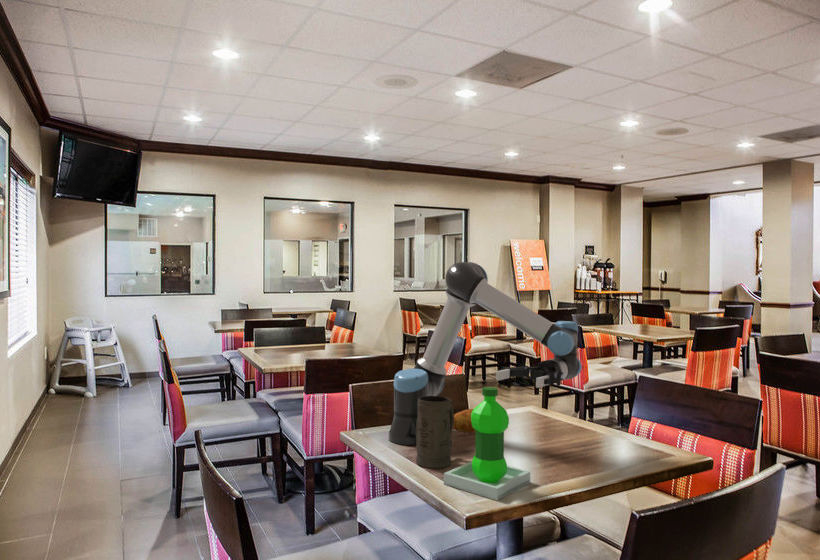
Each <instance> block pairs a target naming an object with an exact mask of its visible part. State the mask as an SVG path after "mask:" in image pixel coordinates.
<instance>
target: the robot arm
mask: <svg viewBox="0 0 820 560" xmlns="http://www.w3.org/2000/svg"><path fill="white" fill-rule="evenodd" d="M488 277H489V276H488V274H487V272H486V270H485V269H484V268H483V267H482V265H479V264H478V263H475V262H471V261H470V262H464V261H458V262H456V263H453V264H452V265H451V266H450V267H449V268H448V269H447V271H446V273H445V278H444V280H445V285H446V287H447V289H446V290H445V294H446V297H447V299H446V302H445V303H444V306H443V308H442V311H441V313H440V316H439V318H438V321H437V324H436V326H435V327H434V330H433V333H432V335H431V338H430V340H429V343H428V345H427V346H426V350H425V351H424V354H423V356H422V357H420V358H418V359H417V360H416V363H415V365H414V368H406V369H402V370H398V372H396V373H395V374H394V381H393V419H392V421H391V425H390V428H389V429H390V430H389V431H388V440H389V442H391V443H394V444H397V445H405V446H416V434H417V418H418V399H419V398H420V397H423V396H439V395H440V394H441V392H442V390H443V388H444V386H445V378H446V375H447V369H446V364H447V362H448V360H449V357H450V355H451V352H452V350H453V349H454V345H455V343H456V341H457V338H458V336H459V334H460V333H461V332H460V331H461V329H462V326H463V324H464V322H465V320H466V318H467V315H468V312H469V310H470V308H471V307H473V306H476V305H479V306H480V307H482V308H483V309H484V310H487V311H488V312H489V313H491V314H493V315H495V316H496V317H498V318H500V320H503V321H504V322H505V323H507V324H509V325H510V326H512V327H513V328H516V329H517V330H519V331H520V332H522V333H523V334H525V335H527V336H528V337H530V338H531V339H534V340H535V341H536V342H538V343H540V344H542V346H544V347H545V348H547V349H549V351H550V352H551V353H552V354H553V358H550V359H545V360H542V361H540V362H539V363H537V365H536V366H532V367H531V366H527V365H525V366H507V367H505V366H503V367H501V370H496V371H495V380H496V381H503V380H508V379H510V378H526V379H528V380H529V379H530V380H531V379H535V388H536V389H537V388H538V389H539V388H542V387H546V386H549V385H550V386H554V385H555V384H556V386H558V387H559V386H561V385H562V383H561V381H566V380H572V379H574V378H576V377H578V376H579V375H580V373H581V371H582V367H583V365H582V362H581V360H580V359H579V358H578V339H579V338H578V337H579V325H578V323H577V322H576V321H571V320H570V321H569V320H567V321H566V320H558V321H556V322H555V323H554V322H552V321H550V320H549V319H547V318H546V317H544V316H542V315H540V314H538V313H537V312H535V311H533V310H532V309H530V308H529V307H527V306H526V305H524V304H523V303H520V302H519V301H517V300H515V298H512V297H510V296H509V295H507V294H505V293H504V292H502V291H501V290H500V289H498V288H496V287H494V286H492V285H491V284H489V283H488V282H489V278H488Z"/></svg>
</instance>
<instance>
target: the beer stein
mask: <svg viewBox="0 0 820 560" xmlns="http://www.w3.org/2000/svg"><path fill="white" fill-rule="evenodd" d="M454 412H455V411H454V407H453V399H450V398H449V397H446V396H440V395H438V396H423V397H420V398H419V399H418V418H417V434H416V445H415V446H416V447H415V449H416V457H415V458H416V459H415V462H416V464H417V465H418V466H419V467H422V468H426V469H444V468H447V467H449V466H450V465H451V464H452V458H451V453H452V448H451V447H452V446H453V442H452V439H451V437H452V432H453V430H454V429H453V424H454V414H455V413H454Z"/></svg>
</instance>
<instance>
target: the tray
mask: <svg viewBox="0 0 820 560" xmlns="http://www.w3.org/2000/svg"><path fill="white" fill-rule="evenodd" d="M530 483H531V471H529V470H526V469H522V468H518V467H514V466H510V465H507V472H506V474H505V475H504V477H502V478H501V479H500V480H499V481H498V482H496V483H486V482H482V481H480V479H479V478H478V477H477V476H475V474H474V473H473V470H472V460H471V461H469V462H466V463H465V464H462V465H460V466H458V467H457V466H456V467H455V468H453V469H451V470H447V471H446V472H443V485H445V486H448V485H449V487H451V486H452V488H456V489H458V490H462V491H465V492H468V493H470V494H471V493H472V494H475V495H478V496H482V497H484V498H488V499H490V500H495V501H499V500H501V499H502V498H504V497H506V496H508V495H510V494H512V493H514V492H516V491H517V490H519V489H521V488H522V487H525V486H526V485H528V484H530Z"/></svg>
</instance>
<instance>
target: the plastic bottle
mask: <svg viewBox="0 0 820 560" xmlns="http://www.w3.org/2000/svg"><path fill="white" fill-rule="evenodd" d="M481 389H482V391H481V395H482V396H483V401H481V402H480V403H479V404H477V406H476V407H474V408H472V409H473V411H472V413H471V422H472V427H473V428H474V429H475V430H476V432H475V437H474V438H475V440H474V441H475V444H474V445H475V451H474V452H475V453H474V455H473V457H472V460H471V461H472V470H473V473H474V474H475V476H477V477H478V478H479V479H480V481H482V482H486V483H496V482H498V481H499V480H500V479H501V478H502V477H504V475H505V474H506V472H507V466H508V464H507V461H506V457H504V456H505V453H504V452H505V431H506V430H507V429H508V427H509V423H510V417H509V415H508V412H507V410H506V409H505V408H504V407H503V406H502V405H501V404H500V403H499V402H498V401H497V399H496V397H498V393H499V392H498V391H499V390H498V388H497V387H494V386H484V387H482V388H481Z"/></svg>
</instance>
